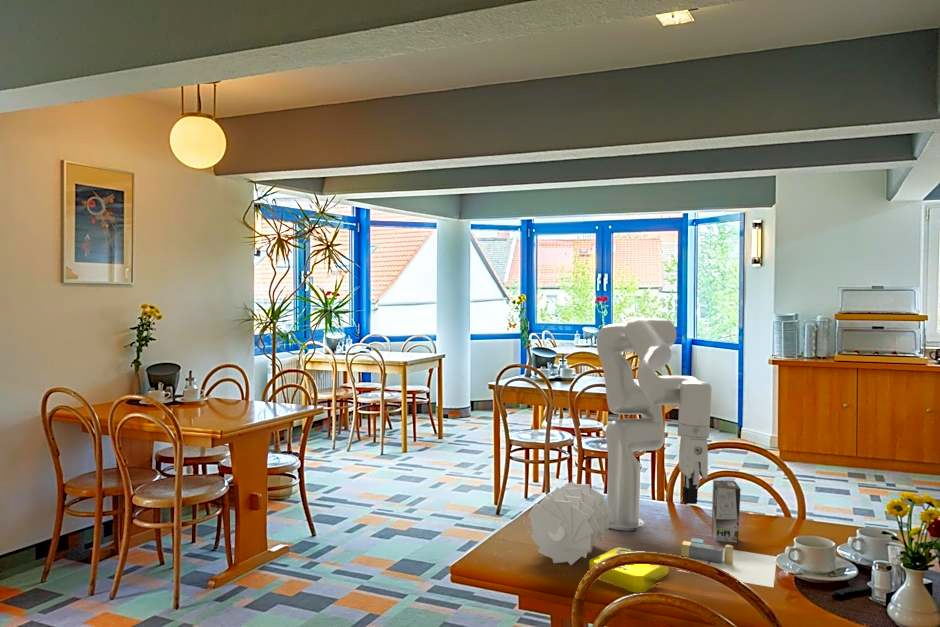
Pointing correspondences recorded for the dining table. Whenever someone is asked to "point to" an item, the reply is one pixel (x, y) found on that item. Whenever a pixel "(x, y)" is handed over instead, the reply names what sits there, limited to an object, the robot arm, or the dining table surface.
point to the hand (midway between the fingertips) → (689, 502)
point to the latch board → (744, 565)
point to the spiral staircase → (569, 522)
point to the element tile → (631, 573)
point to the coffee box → (725, 511)
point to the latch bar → (702, 551)
